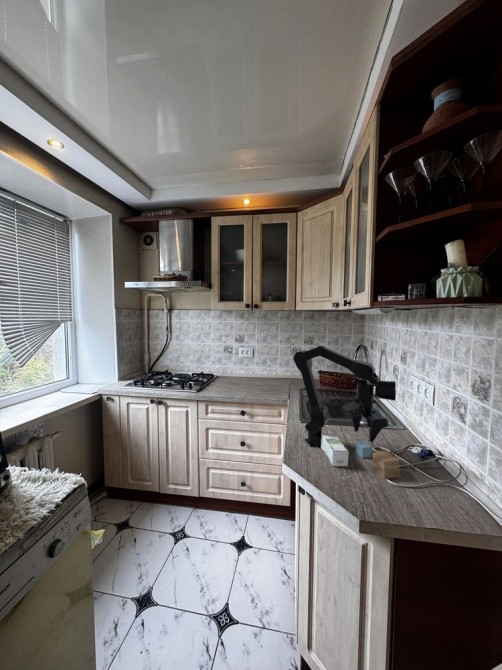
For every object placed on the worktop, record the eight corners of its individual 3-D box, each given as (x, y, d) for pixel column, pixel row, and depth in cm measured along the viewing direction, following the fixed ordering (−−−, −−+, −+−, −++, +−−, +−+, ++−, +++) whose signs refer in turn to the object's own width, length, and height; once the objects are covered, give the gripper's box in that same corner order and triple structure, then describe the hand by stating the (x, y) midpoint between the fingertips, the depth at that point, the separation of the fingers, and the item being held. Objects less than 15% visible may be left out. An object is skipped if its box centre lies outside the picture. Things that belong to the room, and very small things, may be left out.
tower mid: (372, 461, 91) (372, 452, 91) (386, 459, 92) (387, 451, 92) (383, 470, 86) (384, 461, 86) (398, 468, 87) (399, 459, 87)
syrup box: (348, 467, 92) (334, 447, 107) (349, 450, 92) (334, 433, 107) (332, 466, 92) (320, 447, 107) (332, 450, 92) (321, 433, 106)
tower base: (372, 469, 91) (372, 461, 91) (387, 467, 93) (387, 459, 92) (384, 480, 85) (384, 471, 85) (400, 477, 87) (400, 469, 87)
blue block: (355, 453, 102) (355, 443, 102) (364, 452, 103) (364, 442, 103) (362, 458, 98) (362, 447, 98) (371, 457, 99) (371, 446, 99)
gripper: (332, 390, 107) (331, 428, 108) (361, 405, 89) (360, 450, 90) (357, 389, 109) (355, 426, 110) (390, 403, 91) (388, 447, 92)
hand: (363, 436), depth 101 cm, fingers open, 9 cm apart
